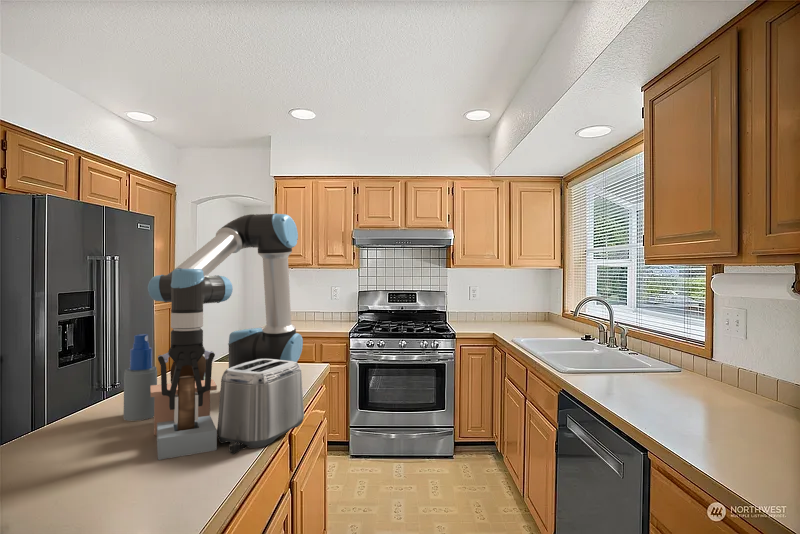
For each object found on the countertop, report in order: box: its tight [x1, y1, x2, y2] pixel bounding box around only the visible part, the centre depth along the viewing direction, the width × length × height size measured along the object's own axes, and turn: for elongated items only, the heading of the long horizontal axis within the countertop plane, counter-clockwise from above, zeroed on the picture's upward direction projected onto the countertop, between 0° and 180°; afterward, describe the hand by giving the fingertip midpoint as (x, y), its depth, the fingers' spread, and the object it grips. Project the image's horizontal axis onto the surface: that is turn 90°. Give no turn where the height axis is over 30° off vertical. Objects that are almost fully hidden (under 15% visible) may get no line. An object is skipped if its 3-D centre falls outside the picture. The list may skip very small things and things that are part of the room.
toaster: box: [216, 359, 305, 455], centre depth 129 cm, size 17×30×19 cm, turn 161°
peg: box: [177, 376, 195, 431], centre depth 119 cm, size 4×4×15 cm
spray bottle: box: [123, 333, 158, 422], centre depth 143 cm, size 9×9×25 cm
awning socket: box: [150, 378, 218, 461], centre depth 123 cm, size 16×20×13 cm
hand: (186, 420), depth 119 cm, fingers closed on peg, 4 cm apart
